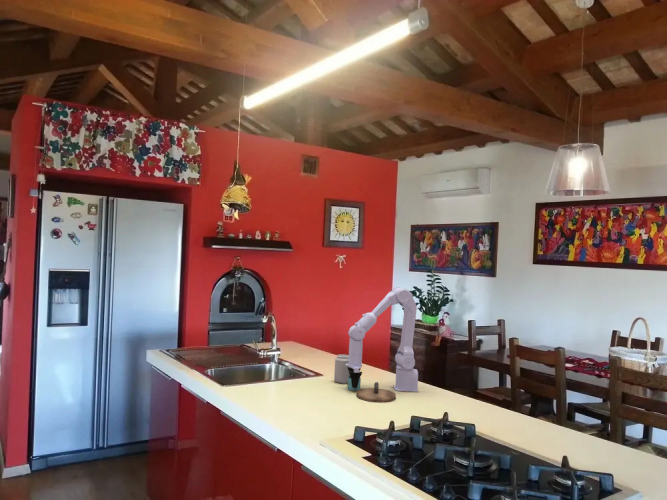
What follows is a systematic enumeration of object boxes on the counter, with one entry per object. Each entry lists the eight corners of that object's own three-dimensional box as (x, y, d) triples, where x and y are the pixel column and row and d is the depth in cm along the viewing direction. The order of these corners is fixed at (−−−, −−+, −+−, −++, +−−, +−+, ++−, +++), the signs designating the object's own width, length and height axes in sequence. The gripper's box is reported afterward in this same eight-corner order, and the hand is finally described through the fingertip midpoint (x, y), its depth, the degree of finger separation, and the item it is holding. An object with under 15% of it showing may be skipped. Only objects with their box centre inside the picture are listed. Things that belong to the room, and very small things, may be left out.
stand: (392, 392, 226) (392, 378, 226) (398, 403, 210) (399, 387, 210) (354, 391, 225) (355, 376, 225) (358, 401, 209) (359, 386, 209)
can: (344, 385, 235) (345, 357, 235) (330, 381, 239) (332, 355, 239) (354, 382, 241) (355, 355, 241) (340, 379, 245) (341, 353, 245)
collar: (359, 387, 231) (359, 376, 231) (360, 391, 226) (361, 379, 226) (347, 387, 231) (347, 375, 231) (348, 390, 226) (348, 378, 226)
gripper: (344, 350, 235) (343, 381, 235) (347, 357, 221) (345, 389, 221) (360, 351, 236) (359, 382, 236) (364, 357, 221) (362, 390, 221)
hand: (353, 385), depth 228 cm, fingers closed on collar, 5 cm apart
